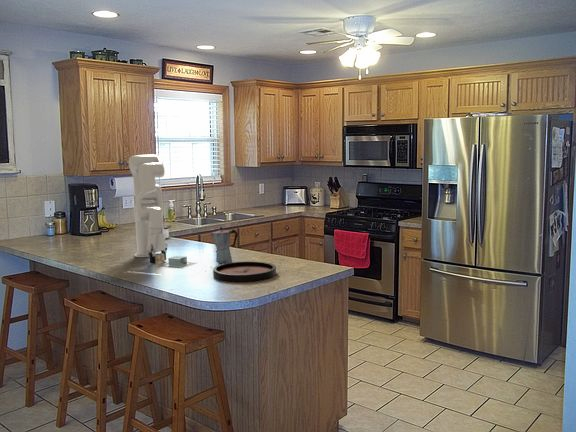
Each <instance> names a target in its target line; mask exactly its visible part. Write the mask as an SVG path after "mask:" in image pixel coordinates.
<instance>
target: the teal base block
mask: <svg viewBox="0 0 576 432" xmlns="http://www.w3.org/2000/svg"><path fill="white" fill-rule="evenodd" d="M187 262H188V258H187V256H184V255H174V256H171V257H168V263H169V266H182V265H185V264H187Z"/></svg>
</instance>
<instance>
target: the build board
mask: <svg viewBox="0 0 576 432" xmlns="http://www.w3.org/2000/svg"><path fill="white" fill-rule="evenodd" d="M196 264H198V262H191V261H187V264H185V265H182V266H169V262H167V263H166V262H165V263H162V264H159V265H158V266H157V267H160V268H170V269H171V268H172V269H185V268H188V267H190V266H193V265H196Z"/></svg>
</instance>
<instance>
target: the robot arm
mask: <svg viewBox="0 0 576 432" xmlns="http://www.w3.org/2000/svg"><path fill="white" fill-rule="evenodd" d="M128 167H129V171H130V173H131V175H132V179H133V188H134V191H133V192H134V197H135V204H134V205H133V207H132V211H133V216H134V221H135V222H134V225H135V237H136V238H135V239H136V252H135V253H134V257H136V258H149V263H150V264H151V265H156V264H155V256H154V255H155V254H156V253H161V254H164V258H165V261H167V250H168V246H169V245H168V243H167V242H166V239H165V236H164V227H163V220H164V199H163V190H162V187H161V185H160V184H156V178H163V177H164V176H165V172H166V171H165V167H164V164H163V161H162V159H161V158H160V156H159V155H157V154H138V155H137V154H136V155H131V156H130V157H129V159H128ZM143 201H153V202H143Z"/></svg>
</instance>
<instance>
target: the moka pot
mask: <svg viewBox="0 0 576 432" xmlns="http://www.w3.org/2000/svg"><path fill="white" fill-rule="evenodd" d="M233 234H235V235H234V239H233V244H231V245H230V243H231V242H230V241H231V235H233ZM238 235H239V234H238V232H237V230H235V229H232V230H225V229H223V227H222V226H220V227H219V230H217V231H213V232H210V234H209V236H211V238H212V239H213V242H214V246H215V247H216V248H215V249H216V251H215V253H216V258H215V262H217V263H218V265H221V264H226V263H232V262H233V259H232V254H231V250H230V249H231V248H230V247H235V246H236V243H237V238H238Z"/></svg>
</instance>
